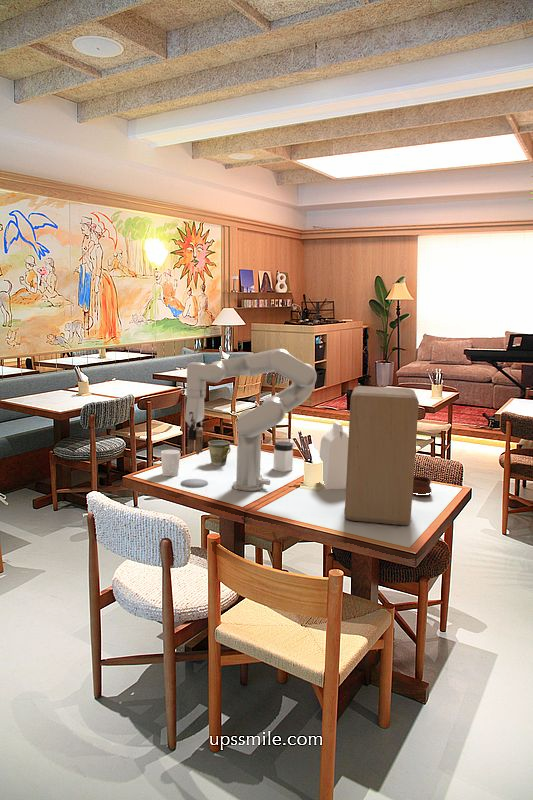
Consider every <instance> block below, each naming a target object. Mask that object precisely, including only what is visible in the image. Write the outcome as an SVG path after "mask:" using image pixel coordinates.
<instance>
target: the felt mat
mask: <svg viewBox="0 0 533 800" xmlns="http://www.w3.org/2000/svg"><path fill="white" fill-rule="evenodd" d="M208 484H209V482H208V480H205V479H201V478H190V479H184V480H182V481H181V482H180V485H181V486H182V487H185V488H203V487H207V485H208Z"/></svg>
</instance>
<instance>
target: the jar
mask: <svg viewBox="0 0 533 800" xmlns="http://www.w3.org/2000/svg"><path fill="white" fill-rule="evenodd" d="M293 444H294V443H292V442H291V441H283V440H282V441H276V442H275V443H274V446H273V447H274V448H273V470H274V471H275V472H284V473H287V472H290V471H293V467H294V466H293V463H294V461H293V460H294V450H293V448H294V447H293Z"/></svg>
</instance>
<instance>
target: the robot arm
mask: <svg viewBox="0 0 533 800" xmlns="http://www.w3.org/2000/svg"><path fill="white" fill-rule="evenodd" d="M274 372H276V373H277V374H279V375H281V376H282V377H284V378H285V379H287V380H288V381H290V382H292V383H291V384H290V385H288V386H287V387H285V388H284V389H283V390H281V391H279V392H278V393H276V394H273V395H271V396H270V397H267V398H265V399H264V400H263V402H262V404H261V405H258V406H257V407H255V408H254V409H251V408H250V409H245V410H243V411H241V413H239V415H238V417H237V420H236V431H237V439H236V440H237V442H236V443H237V445H236V446H237V449H236V480H235V481H234V482H232V484H231V485H232V487H233V489H235V490H238V491H241V492H242V491H243V492H254V491H260V490H262V489H263V488H264V485H266V486H270V485H271V480H269V478H263V475H262V474H261V457H262V456H261V453H262V452H261V450H262V433H264V432H266V431H267V430H270V429H271V428H273V427H275V426H276V425H278V424H280V423H281V422H282V421H283V419H284V418H285V415H286V414H287V413H289V412H291V411H292V410H294V409H295V408H298V407H299V406H300V405H302V404H303V403H305V402H306V400H308V399H309V397H310V396H311V394H312V393H313V391H314V388H315V385H316V381H317V377H318V376H317V375H318V374H317V372H316V369H315V367H314V366H313V365H311V364H309V363H307V362H305V363H304V362H303V361H301V360H300V359H298V358H297V357H294V356H293V355H292V354H291V353H289V351H288V350H286V349H285V348H274V349H271V350H270V349H269V350H264V351H259V352H256V353H255V352H254V353H251V354H245V355H241V356H236V357H232V358H227V359H222V360H217V361H213V362H211V363H207V364H206V363H204V362H200V361H198V362H197V361H196V362H195V361H194V362H193V361H192V362H189V363H188V364H187V366H186V404H185V416H184V420H185V421H184V422H186V423H187V440H188V439H189V440H194V441H196V427H201V428H203V421H204V419H205V398H206V397H207V391H206V389H207V388H206V387H207V382H208V383H216V384H217V383H220V382H221V381H222V380H223V379H227V378H228V379H229V378H233V377H239V376H247V377H253V376H258V375H265V374H268V373H274Z"/></svg>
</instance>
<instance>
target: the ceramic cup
mask: <svg viewBox="0 0 533 800" xmlns="http://www.w3.org/2000/svg"><path fill="white" fill-rule="evenodd" d="M207 445H208V451H209V456H210V461H211V462H210V463H211V464H212V465H214V466H224V465H226V464H227V458H228V454H229V453H230V452H231V442H230V441H228V440H223V439H215V440H210V441H208V442H207Z"/></svg>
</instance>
